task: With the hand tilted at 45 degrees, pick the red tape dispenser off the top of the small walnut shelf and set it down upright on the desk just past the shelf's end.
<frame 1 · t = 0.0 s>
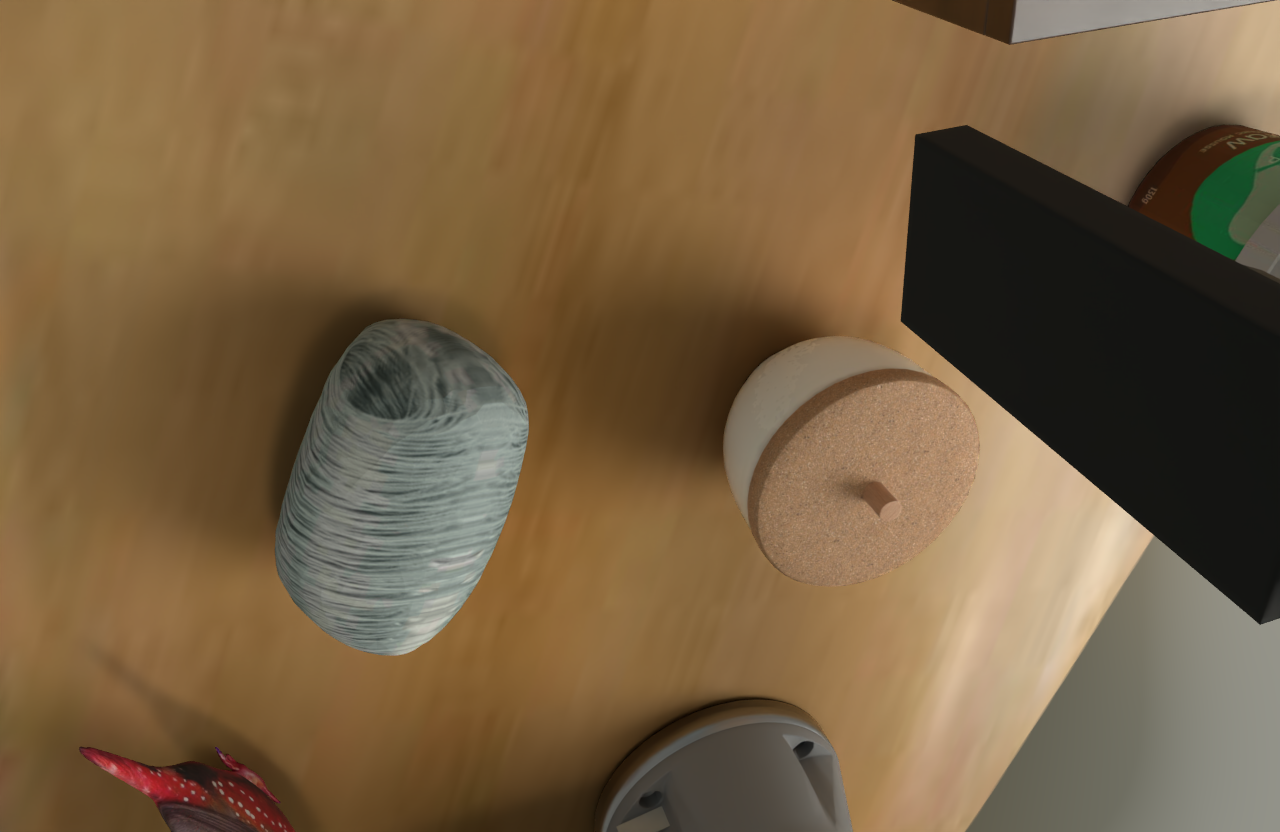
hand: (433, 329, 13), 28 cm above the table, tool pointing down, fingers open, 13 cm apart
decorative bird figurine: (221, 744, 52), on the table
food container: (1201, 163, 53), on the table
spool: (389, 436, 46), on the table
trinket box: (791, 398, 52), on the table
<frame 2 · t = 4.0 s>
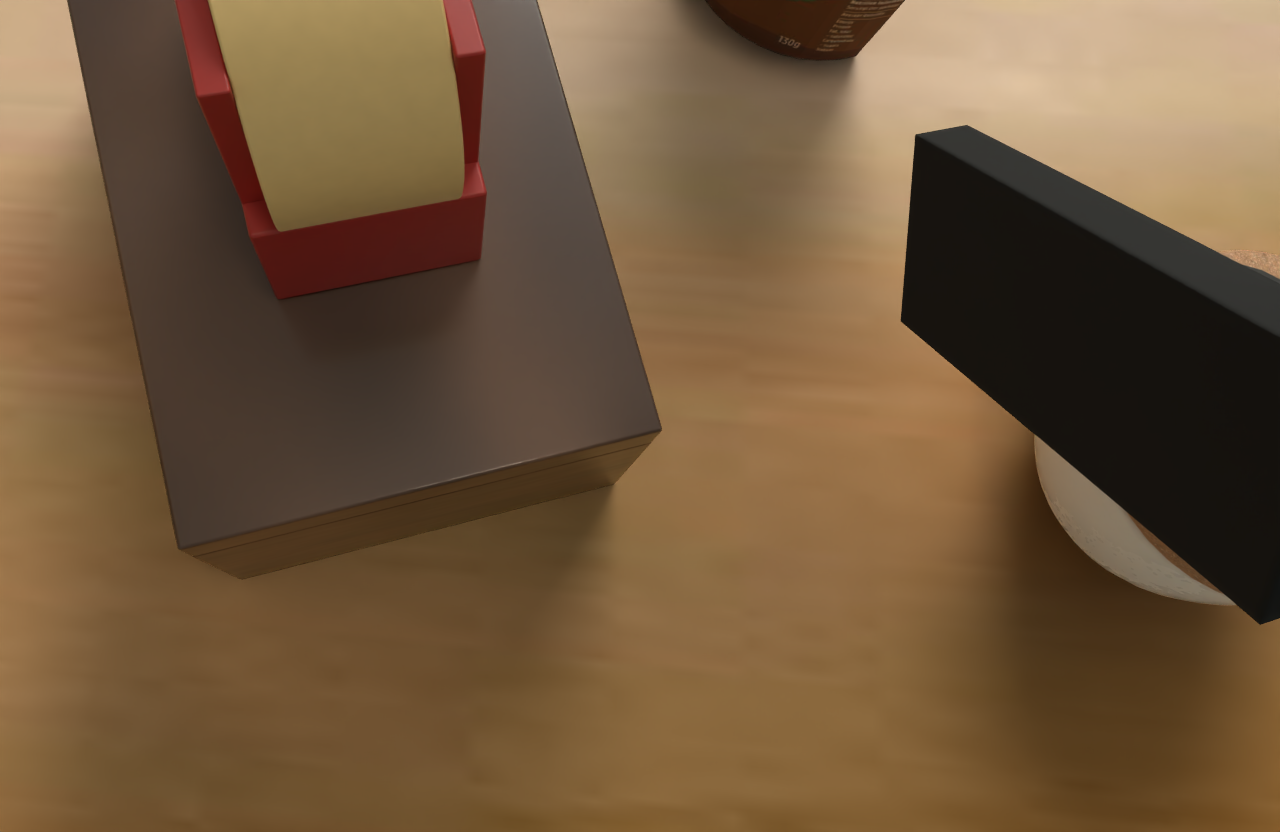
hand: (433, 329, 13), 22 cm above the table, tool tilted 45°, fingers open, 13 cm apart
tape dispenser: (342, 121, 28), point 8 cm above the table, touching shelf
shelf: (370, 268, 35), on the table
trinket box: (1115, 469, 39), on the table
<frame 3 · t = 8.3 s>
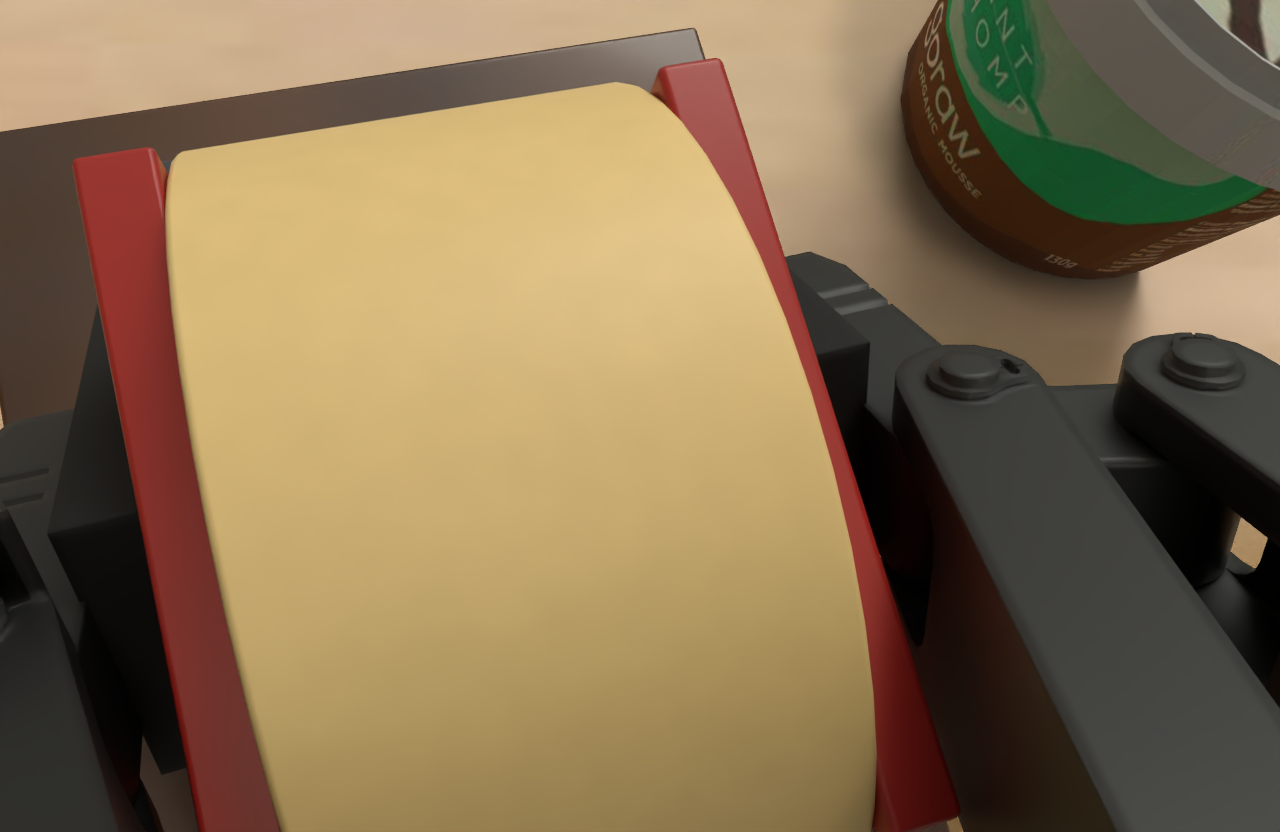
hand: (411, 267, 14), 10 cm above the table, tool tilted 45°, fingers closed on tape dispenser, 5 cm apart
tape dispenser: (471, 550, 16), point 8 cm above the table, touching gripper, shelf
shelf: (472, 635, 23), on the table
food container: (971, 149, 29), on the table
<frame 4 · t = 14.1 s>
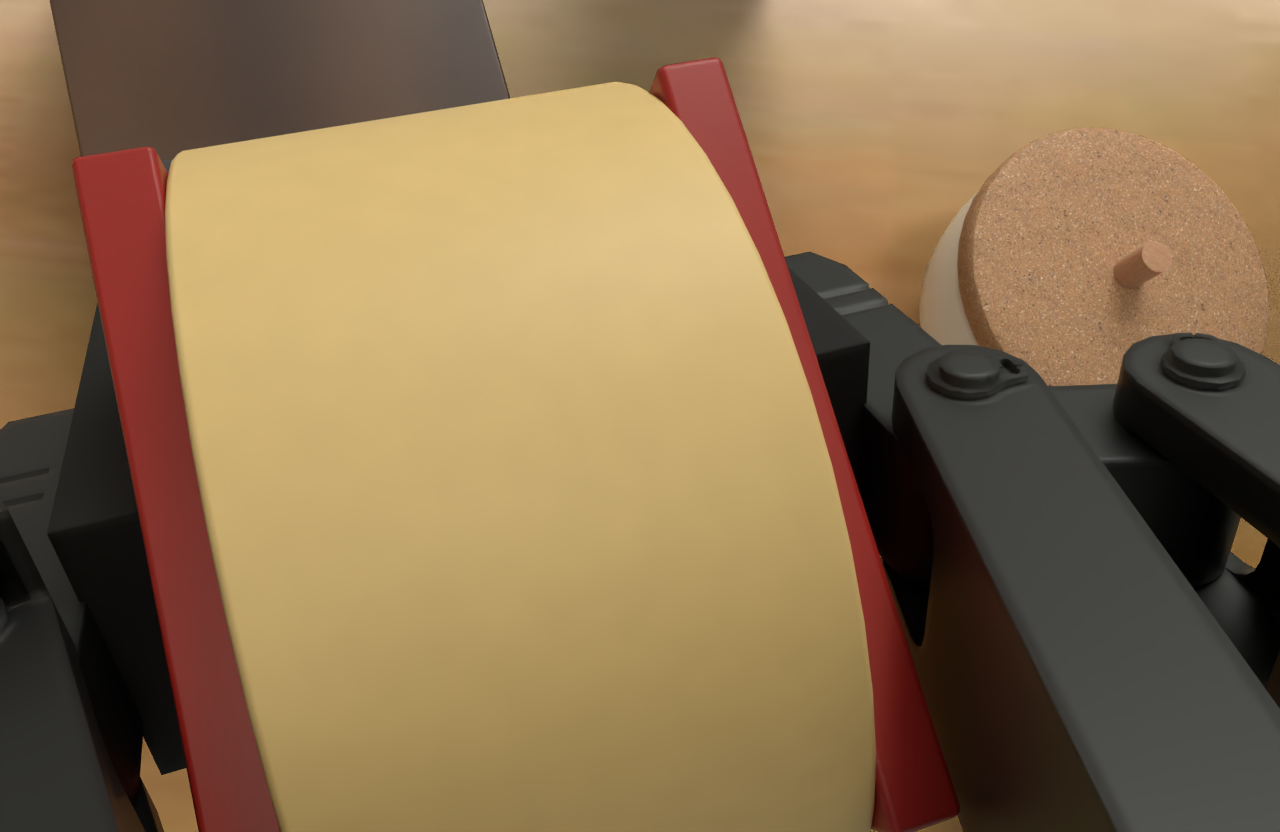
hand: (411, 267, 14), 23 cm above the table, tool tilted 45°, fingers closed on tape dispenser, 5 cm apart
tape dispenser: (471, 550, 16), point 21 cm above the table, touching gripper
shelf: (312, 153, 39), on the table
trinket box: (1002, 347, 42), on the table
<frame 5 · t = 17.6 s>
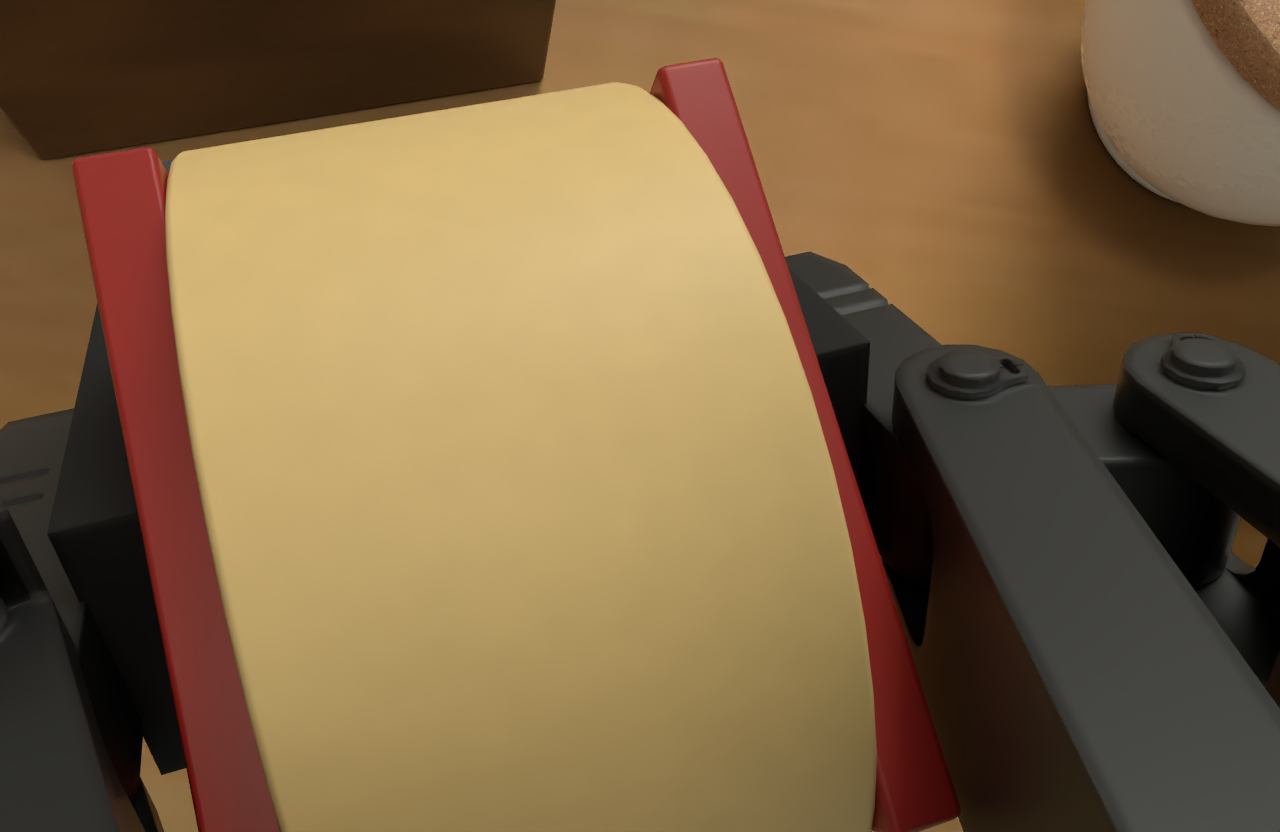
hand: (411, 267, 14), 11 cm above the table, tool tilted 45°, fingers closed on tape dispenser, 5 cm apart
tape dispenser: (471, 550, 16), point 8 cm above the table, touching gripper
trinket box: (1179, 112, 31), on the table
when the fingers open (2 cm above the table, at t = 20.2 s): tape dispenser stays where it is, on the table.
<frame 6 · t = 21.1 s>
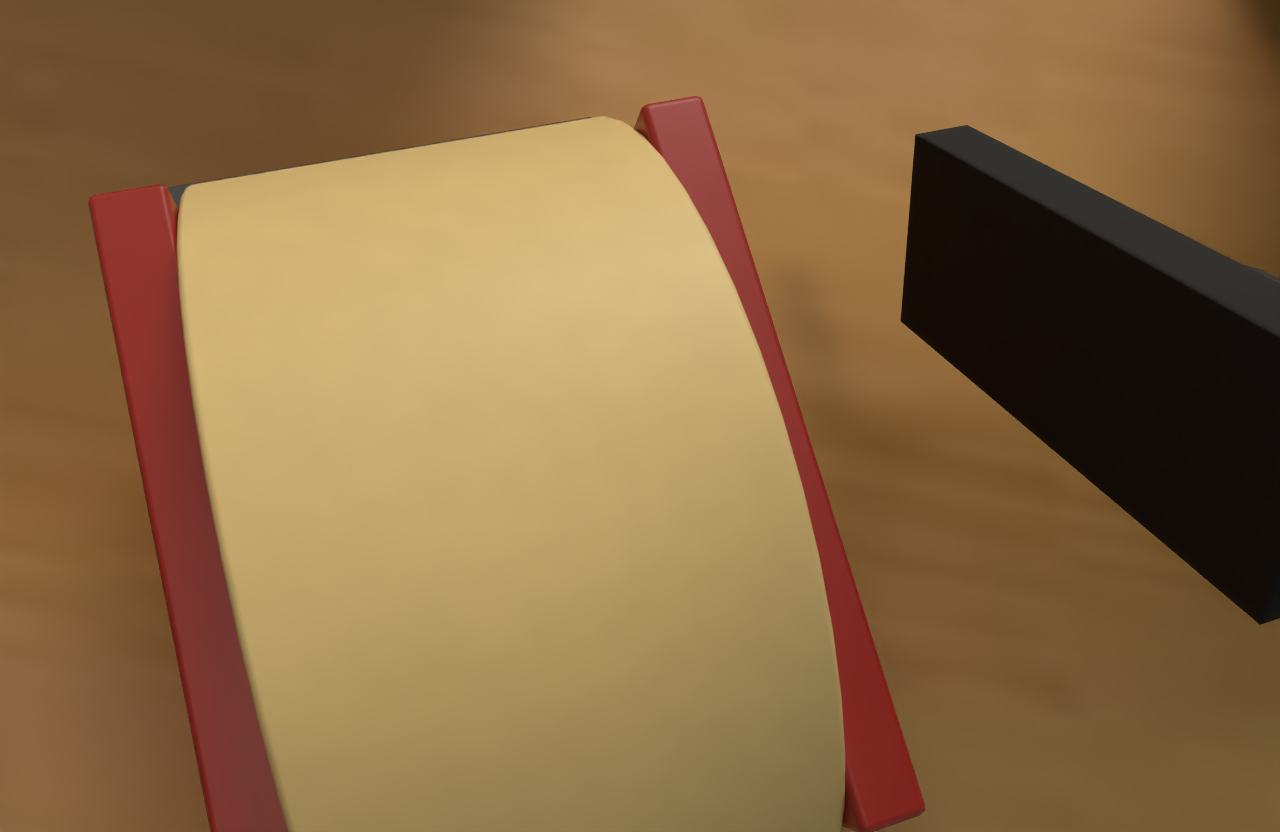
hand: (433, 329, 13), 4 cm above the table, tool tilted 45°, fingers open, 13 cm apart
tape dispenser: (466, 558, 17), on the table
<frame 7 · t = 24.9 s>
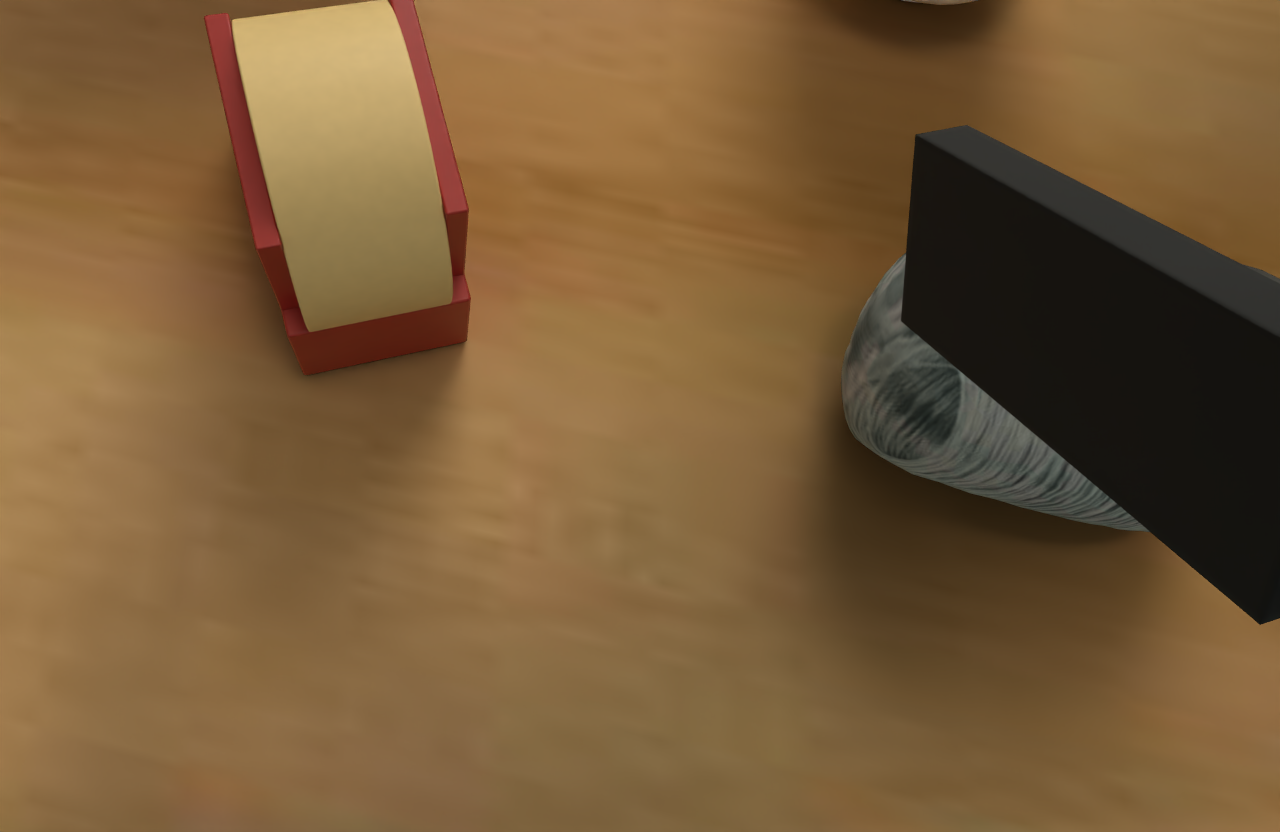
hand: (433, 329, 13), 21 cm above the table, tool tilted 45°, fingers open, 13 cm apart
tape dispenser: (355, 229, 35), on the table
spool: (996, 412, 38), on the table
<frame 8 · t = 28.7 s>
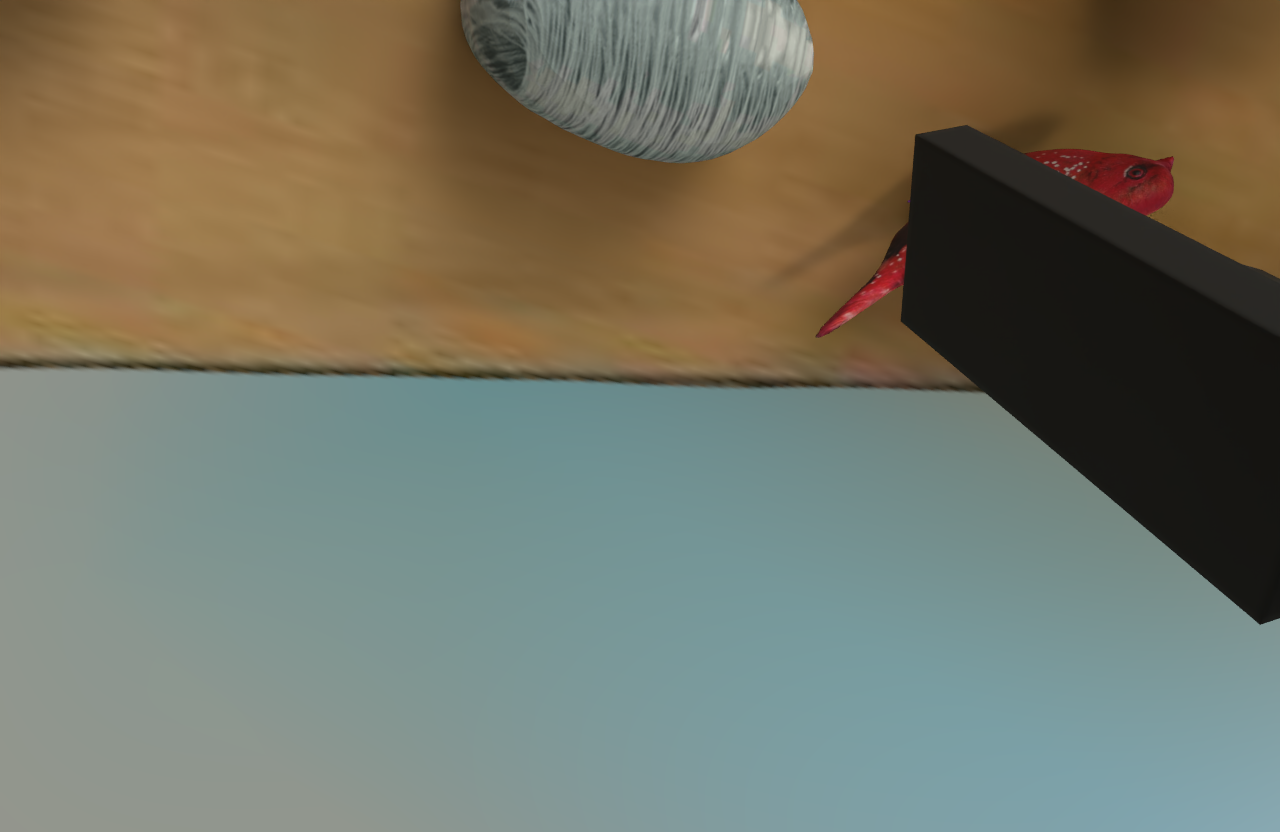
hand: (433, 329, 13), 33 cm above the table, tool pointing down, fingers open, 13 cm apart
decorative bird figurine: (910, 194, 54), on the table
spool: (609, 7, 44), on the table
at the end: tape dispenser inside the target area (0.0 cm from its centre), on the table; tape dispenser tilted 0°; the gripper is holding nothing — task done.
